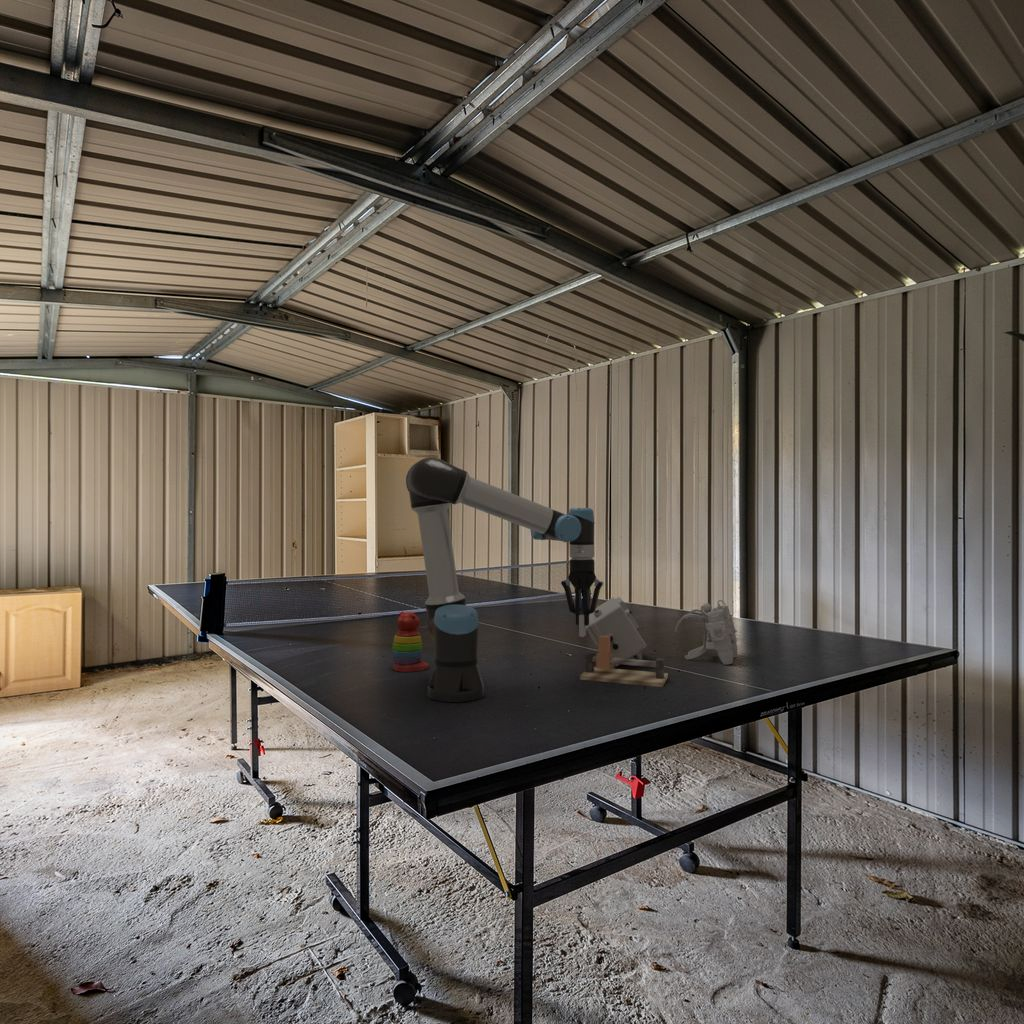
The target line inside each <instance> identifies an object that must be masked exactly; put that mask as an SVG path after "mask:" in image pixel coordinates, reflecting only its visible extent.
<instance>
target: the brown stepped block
mask: <svg viewBox="0 0 1024 1024" xmlns="http://www.w3.org/2000/svg"><path fill="white" fill-rule="evenodd" d="M597 649H598V651H597V653H595V656H596V662H595V665H596V666H595V667H596V668H603V669H610V668H611V667H612V663H610V658H612V652H610V636H606V635H600V636H599V637H598V647H597ZM611 669H612V668H611Z"/></svg>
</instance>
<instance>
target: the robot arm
mask: <svg viewBox="0 0 1024 1024" xmlns="http://www.w3.org/2000/svg"><path fill="white" fill-rule="evenodd" d="M405 485H406V486H405V487H406V489H407V491H408V494H409V501H410V508H411V510H412V511H414V513H416V514H417V518H418V524H419V525H418V527H419V532H420V533H419V534H420V539H421V546H422V553H423V561H424V566H425V567H424V569H425V575H426V581H427V588H428V594H429V595H428V598H427V599H426V601H425V602H424V604H425V610H426V611H425V612H426V622H425V625H426V630H427V633H428V635H429V636H430V638H431V639H432V640H433V641H434V666H433V671H432V673H431V677H430V680H429V683H428V685H427V697H428V698H429V699H432V700H434V701H438V702H443V703H444V702H446V703H463V702H464V703H465V702H471V701H475V700H478V699H481V698H482V697H484V696H485V685H484V681H483V678H482V676H481V675H482V674H481V672H480V669H479V665H478V664H479V660H478V659H479V655H478V654H479V649H478V647H479V624H480V623H479V618H478V617H479V616H478V615H479V614H478V611H477V610H476V609H475V608H474V607H472V606H467V602H466V596H465V595H464V594H463V593H461V592H460V590H459V584H458V583H459V582H458V576H457V569H456V563H455V554H454V547H453V542H452V541H453V540H452V533H451V528H450V527H451V526H450V522H449V521H450V520H449V512H448V509H450V506H451V505H452V504H453V505H458V504H463V505H465V506H468V507H469V508H472V509H476V510H478V511H481V512H483V513H486V514H488V515H492V516H494V517H496V518H500V519H503V520H505V521H507V522H510V523H511V524H512V523H513V524H516V525H518V526H521V527H523V528H526V529H529V530H530V531H529V532H530V536H531V538H532V539H533V540H536V541H538V540H539V541H546V540H548V541H559V542H562V543H569V545H568V546H569V557H570V559H569V574H568V576H567V577H568V578H566V579H564V580H562V581H561V582H560V584H561V586H562V587H563V589H564V594H565V596H566V601H567V605H568V609H569V612H570V613H573V614H574V615H575V625H576V626H578V637H580V638H584V637H586V636H587V630H586V626H588V625H589V614H591V613H593V612H595V609H596V608H597V604H598V601H599V600H598V599H599V595H600V592H601V589H602V587H603V586H604V582H603V581H600V580H599V579H597V576H596V573H595V559H593V558H595V514H594V510H593V508H591V507H571V508H570V509H569V510H568V511H569V512H568V513H567V514H565V513H564V512H561V511H558V510H554V509H552V508H550V507H548V506H546V505H543V504H540V503H537V502H535V501H532V500H530V499H528V498H525V497H522V496H520V495H517V494H514V493H512V492H509V491H507V490H505V489H502V488H499V487H497V486H494V485H492V484H490V483H487V482H484V481H482V480H479V479H476V478H474V477H471V475H470V474H469V472H468V471H466V470H464V469H461V468H460V467H457V466H456V465H454V464H451V463H449V462H447V461H445V460H443V459H442V458H441V459H440V458H438V457H431V456H428V457H425V458H422V459H420V460H419V461H417V462H415V463H414V464H413V465H411V467H410V468H409V469H408V471H407V473H406V478H405ZM593 584H594V590H593V594H592V599H591V603H590V589H591V586H593ZM571 585H572V586H573V587H574V597H575V598H573V594H572V589H571ZM582 593H583V613H582ZM574 600H575V601H574Z"/></svg>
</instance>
